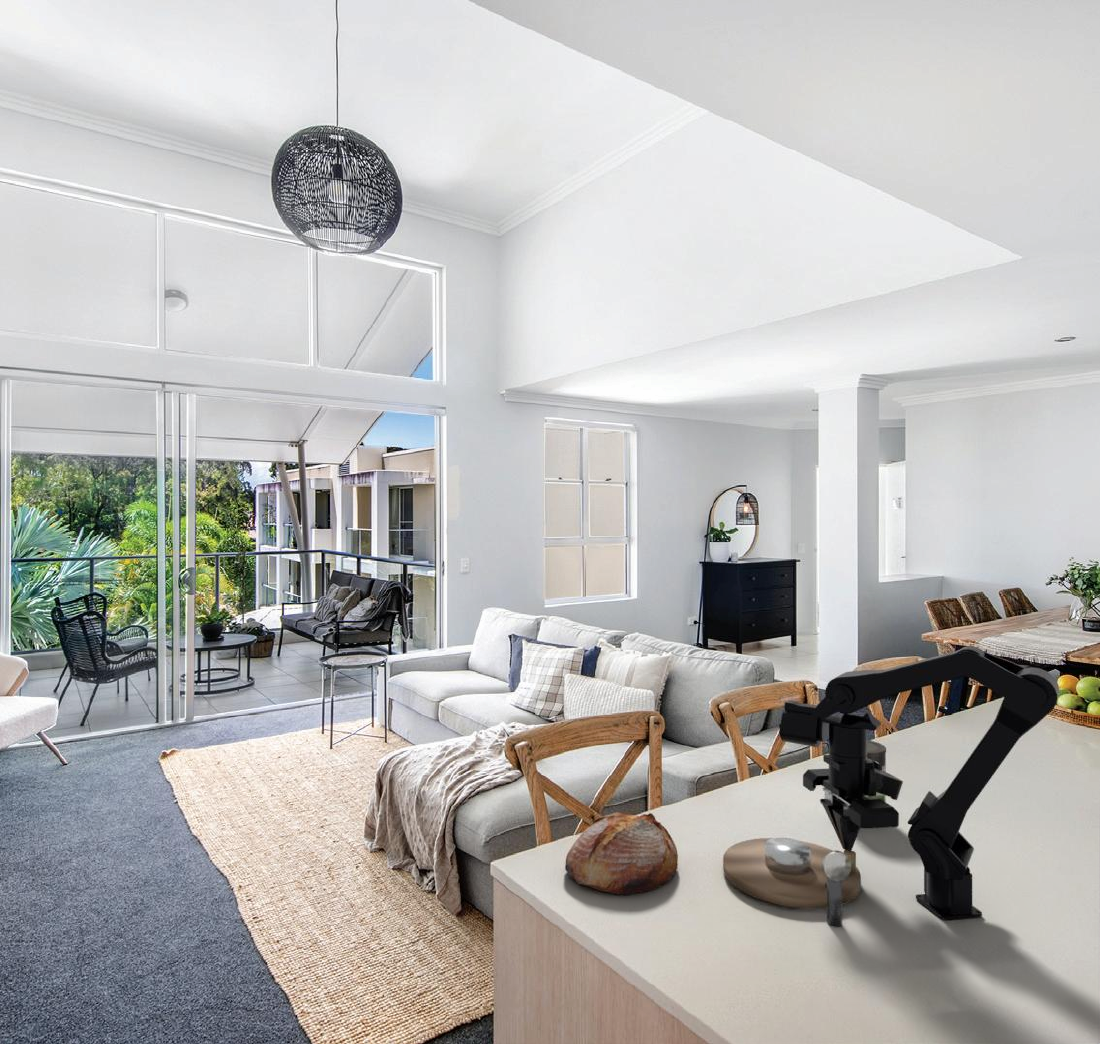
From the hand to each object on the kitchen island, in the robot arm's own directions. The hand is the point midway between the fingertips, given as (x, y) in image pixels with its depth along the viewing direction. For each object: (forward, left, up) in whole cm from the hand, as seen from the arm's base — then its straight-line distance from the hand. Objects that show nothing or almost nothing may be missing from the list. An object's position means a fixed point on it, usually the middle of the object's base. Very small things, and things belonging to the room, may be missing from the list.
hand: (847, 849), depth 119 cm
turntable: (+2, +9, -5) cm, 10 cm away
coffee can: (+24, -16, -5) cm, 29 cm away
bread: (+8, +35, -5) cm, 36 cm away
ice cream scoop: (-12, +9, -5) cm, 15 cm away
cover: (+2, +9, -3) cm, 10 cm away
